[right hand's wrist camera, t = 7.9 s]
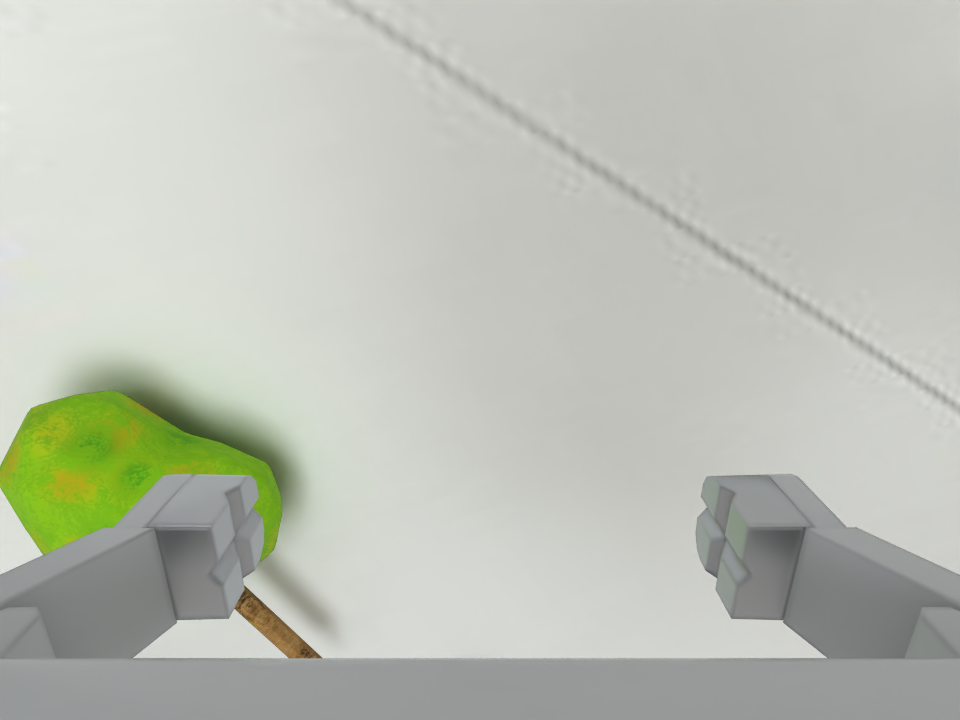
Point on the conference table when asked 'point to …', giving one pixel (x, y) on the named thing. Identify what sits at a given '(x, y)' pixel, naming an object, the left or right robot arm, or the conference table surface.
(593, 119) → the conference table surface
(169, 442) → the decorative tree
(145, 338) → the conference table surface
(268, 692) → the right robot arm
